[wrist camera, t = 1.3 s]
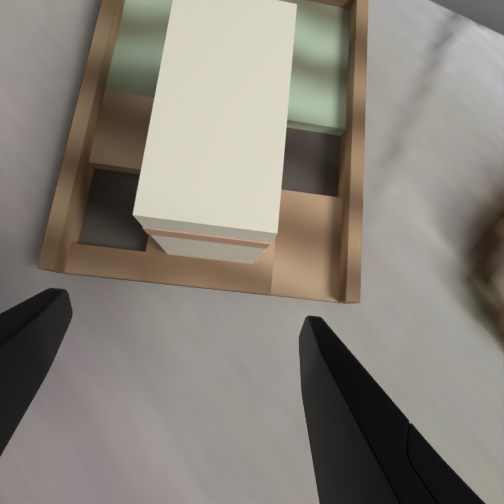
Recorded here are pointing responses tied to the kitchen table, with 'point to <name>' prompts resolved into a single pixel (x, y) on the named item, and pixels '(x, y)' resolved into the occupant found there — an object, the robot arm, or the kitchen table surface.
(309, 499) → the kitchen table surface
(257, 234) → the cream block
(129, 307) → the kitchen table surface
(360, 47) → the tray
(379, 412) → the robot arm
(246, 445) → the kitchen table surface
